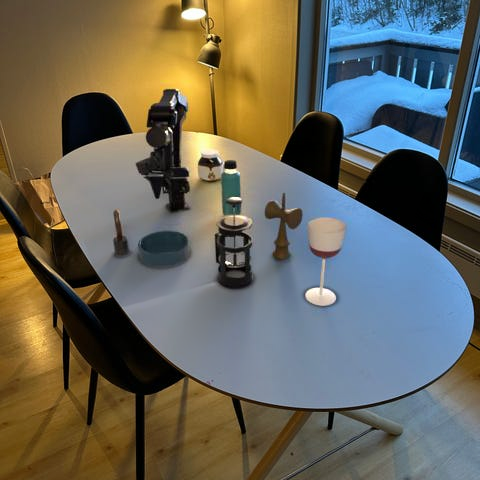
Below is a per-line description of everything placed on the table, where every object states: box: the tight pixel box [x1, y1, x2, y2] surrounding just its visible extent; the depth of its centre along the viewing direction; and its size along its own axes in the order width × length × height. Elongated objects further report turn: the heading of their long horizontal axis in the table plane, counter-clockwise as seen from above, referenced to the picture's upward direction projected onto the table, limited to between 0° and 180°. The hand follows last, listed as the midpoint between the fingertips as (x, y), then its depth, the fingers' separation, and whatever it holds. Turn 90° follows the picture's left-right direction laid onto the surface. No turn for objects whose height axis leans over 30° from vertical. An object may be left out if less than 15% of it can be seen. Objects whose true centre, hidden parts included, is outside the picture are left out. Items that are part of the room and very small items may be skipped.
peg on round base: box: [112, 209, 130, 257], centre depth 127 cm, size 4×4×14 cm
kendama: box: [264, 192, 304, 261], centre depth 124 cm, size 6×10×20 cm, turn 46°
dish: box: [137, 230, 190, 267], centre depth 129 cm, size 14×14×4 cm
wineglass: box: [305, 217, 347, 307], centre depth 107 cm, size 8×9×20 cm
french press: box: [214, 197, 254, 290], centre depth 114 cm, size 12×9×23 cm
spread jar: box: [197, 149, 228, 183], centre depth 183 cm, size 12×11×12 cm
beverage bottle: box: [220, 159, 242, 216], centre depth 147 cm, size 6×7×20 cm
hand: (165, 200), depth 136 cm, fingers open, 9 cm apart
